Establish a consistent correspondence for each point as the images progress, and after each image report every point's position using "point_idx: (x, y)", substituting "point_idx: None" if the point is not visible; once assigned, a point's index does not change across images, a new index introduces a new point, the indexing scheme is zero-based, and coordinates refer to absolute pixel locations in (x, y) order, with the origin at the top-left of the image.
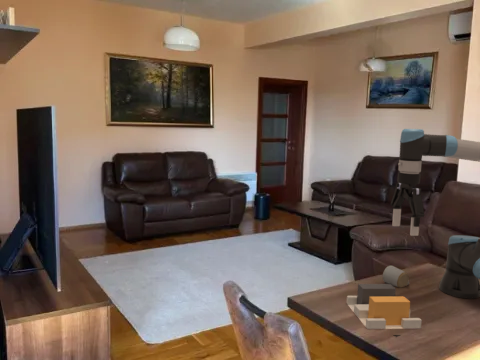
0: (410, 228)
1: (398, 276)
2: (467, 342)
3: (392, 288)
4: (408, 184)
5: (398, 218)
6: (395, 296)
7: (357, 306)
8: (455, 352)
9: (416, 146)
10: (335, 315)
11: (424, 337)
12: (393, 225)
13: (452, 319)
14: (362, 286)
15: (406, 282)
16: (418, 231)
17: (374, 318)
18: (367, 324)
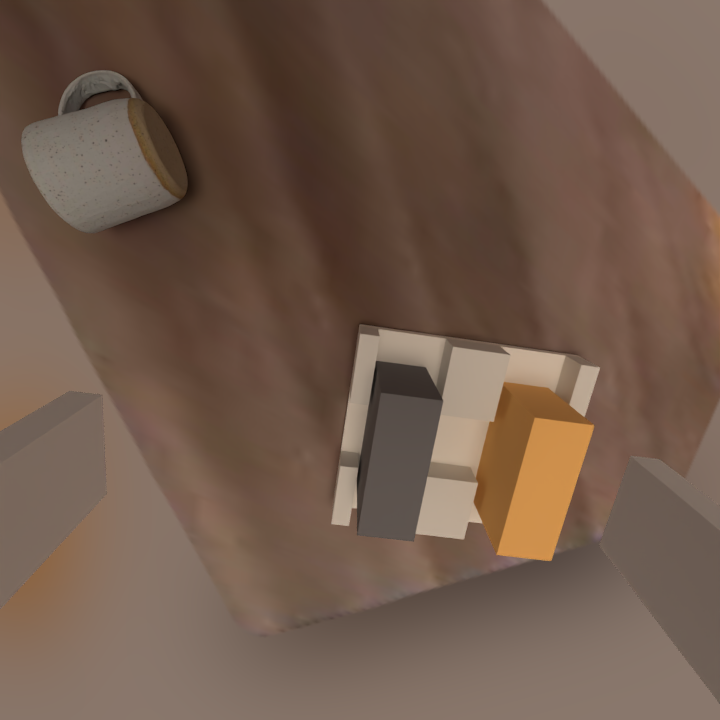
0: (660, 623)
1: (161, 187)
2: (700, 239)
3: (438, 415)
4: None
5: (12, 501)
6: (524, 454)
7: (432, 530)
8: None
9: None
10: (400, 562)
11: (616, 369)
12: (100, 495)
13: (534, 150)
14: (388, 531)
15: (160, 125)
16: (705, 498)
17: None
18: None
